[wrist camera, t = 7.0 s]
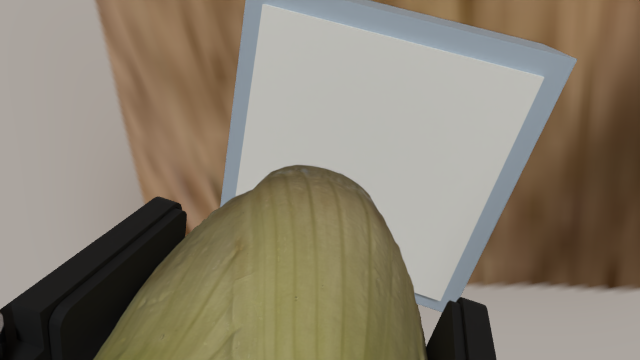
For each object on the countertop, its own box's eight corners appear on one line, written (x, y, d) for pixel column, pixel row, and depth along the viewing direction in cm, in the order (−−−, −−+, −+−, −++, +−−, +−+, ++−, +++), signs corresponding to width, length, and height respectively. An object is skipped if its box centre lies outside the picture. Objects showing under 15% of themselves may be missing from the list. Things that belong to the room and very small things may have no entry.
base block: (542, 43, 18) (579, 60, 14) (447, 255, 24) (451, 320, 19) (289, -20, 20) (245, -25, 15) (254, 193, 25) (214, 238, 21)
